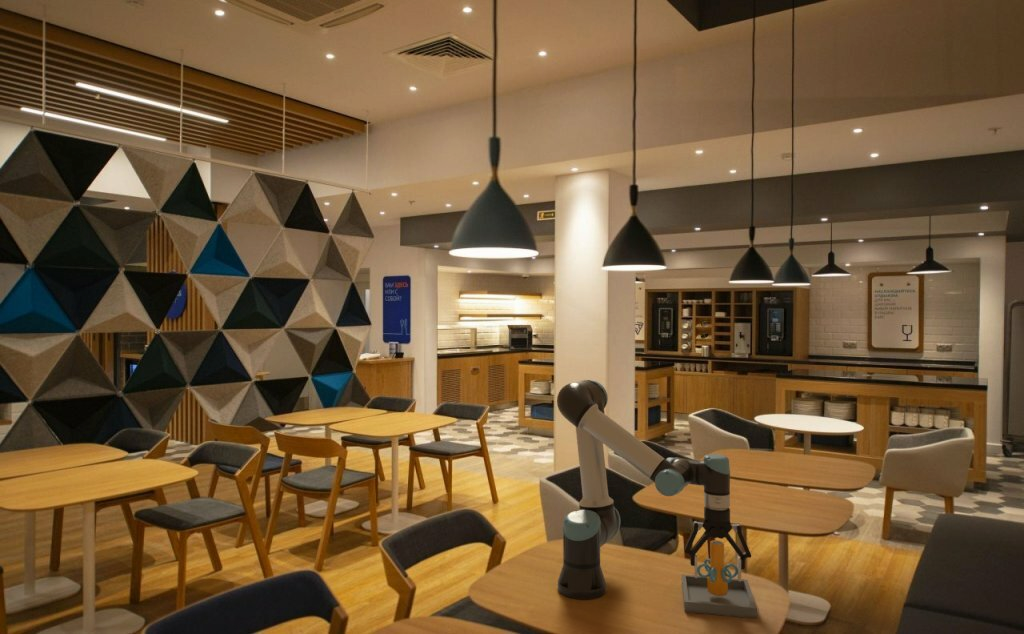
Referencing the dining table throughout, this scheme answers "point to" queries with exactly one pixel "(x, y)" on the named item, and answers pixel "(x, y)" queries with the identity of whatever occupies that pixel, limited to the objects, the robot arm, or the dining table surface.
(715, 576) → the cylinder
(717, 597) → the tray
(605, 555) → the dining table surface
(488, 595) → the dining table surface
